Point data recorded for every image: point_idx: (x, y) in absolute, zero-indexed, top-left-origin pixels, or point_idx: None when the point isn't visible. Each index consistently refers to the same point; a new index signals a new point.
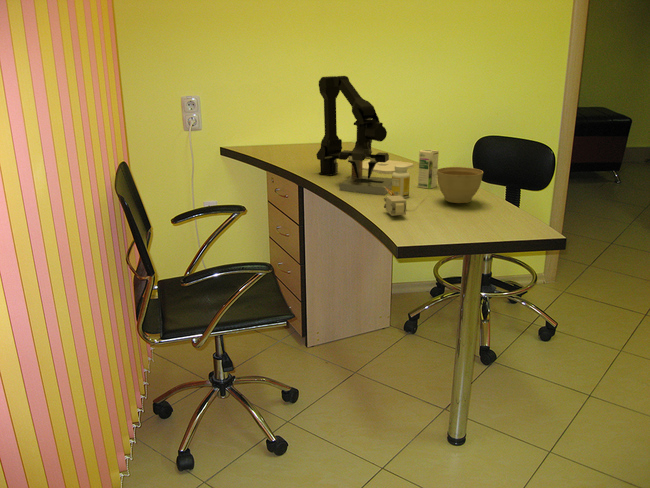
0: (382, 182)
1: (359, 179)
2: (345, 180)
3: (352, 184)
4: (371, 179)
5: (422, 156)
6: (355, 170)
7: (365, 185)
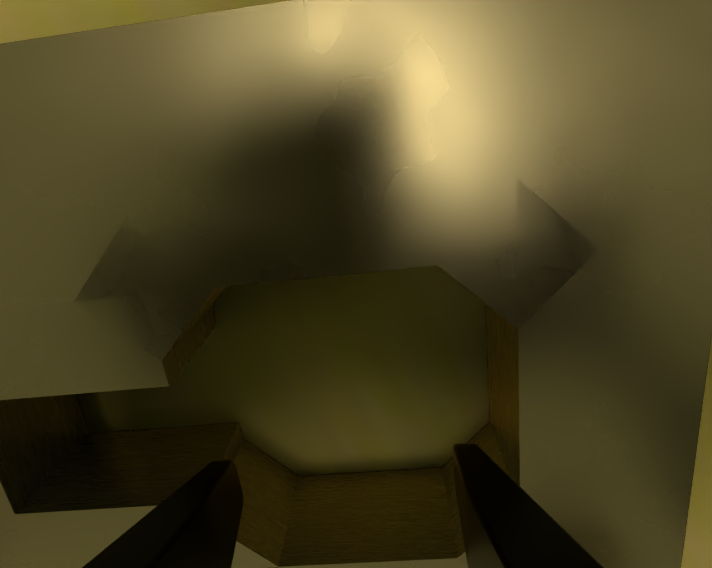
0: (54, 498)
1: None
2: (696, 318)
3: (407, 13)
4: (266, 558)
5: None
6: (565, 561)
7: (95, 71)
